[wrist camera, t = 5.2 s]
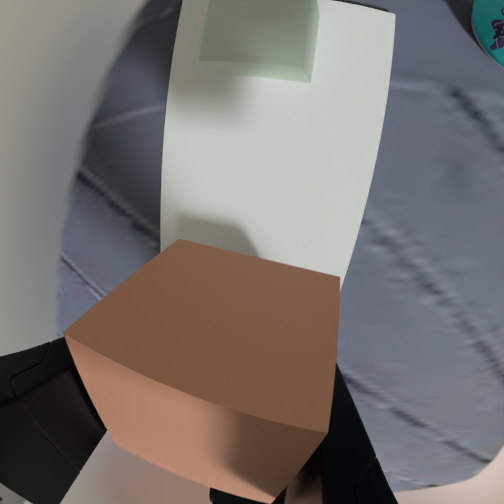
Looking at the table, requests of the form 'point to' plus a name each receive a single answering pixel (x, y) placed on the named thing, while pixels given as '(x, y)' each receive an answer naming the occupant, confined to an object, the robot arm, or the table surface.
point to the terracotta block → (214, 366)
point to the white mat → (277, 144)
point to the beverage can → (489, 28)
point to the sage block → (261, 38)
